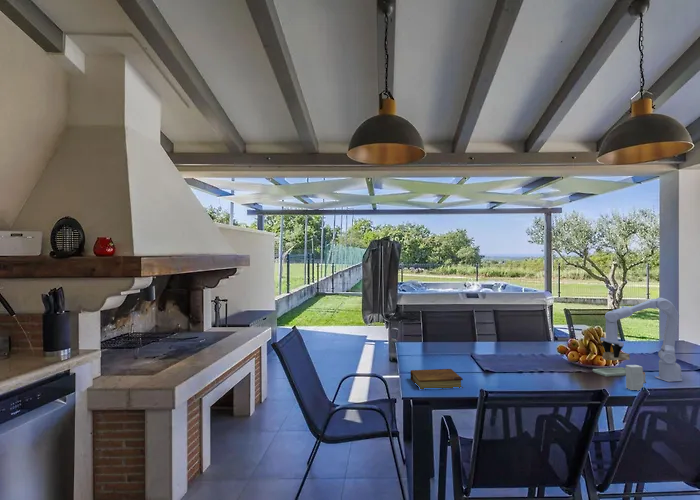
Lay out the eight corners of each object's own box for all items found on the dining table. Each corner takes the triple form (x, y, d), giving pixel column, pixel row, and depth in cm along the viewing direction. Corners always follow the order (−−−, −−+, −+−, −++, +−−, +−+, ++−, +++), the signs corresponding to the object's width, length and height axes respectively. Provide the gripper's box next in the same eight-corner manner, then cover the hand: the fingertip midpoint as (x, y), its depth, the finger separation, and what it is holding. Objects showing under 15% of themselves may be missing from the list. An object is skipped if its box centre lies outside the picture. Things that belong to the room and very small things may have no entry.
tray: (622, 369, 234) (622, 367, 234) (636, 374, 224) (636, 372, 224) (592, 371, 231) (592, 369, 231) (605, 376, 221) (605, 374, 222)
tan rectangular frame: (621, 357, 232) (621, 351, 232) (629, 359, 226) (629, 354, 226) (600, 358, 230) (600, 352, 230) (607, 360, 224) (607, 354, 224)
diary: (450, 378, 223) (450, 368, 223) (462, 389, 205) (462, 378, 205) (410, 379, 221) (410, 369, 221) (419, 391, 203) (419, 379, 203)
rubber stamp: (640, 380, 214) (640, 370, 214) (647, 383, 210) (647, 372, 210) (636, 380, 214) (636, 370, 214) (643, 383, 210) (643, 373, 210)
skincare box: (637, 388, 202) (636, 364, 203) (643, 390, 198) (643, 366, 198) (625, 388, 202) (625, 364, 202) (631, 391, 198) (631, 367, 198)
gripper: (595, 330, 234) (596, 353, 234) (615, 335, 220) (616, 359, 220) (606, 329, 235) (606, 352, 235) (626, 334, 221) (627, 359, 221)
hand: (612, 356), depth 228 cm, fingers closed on tan rectangular frame, 5 cm apart
